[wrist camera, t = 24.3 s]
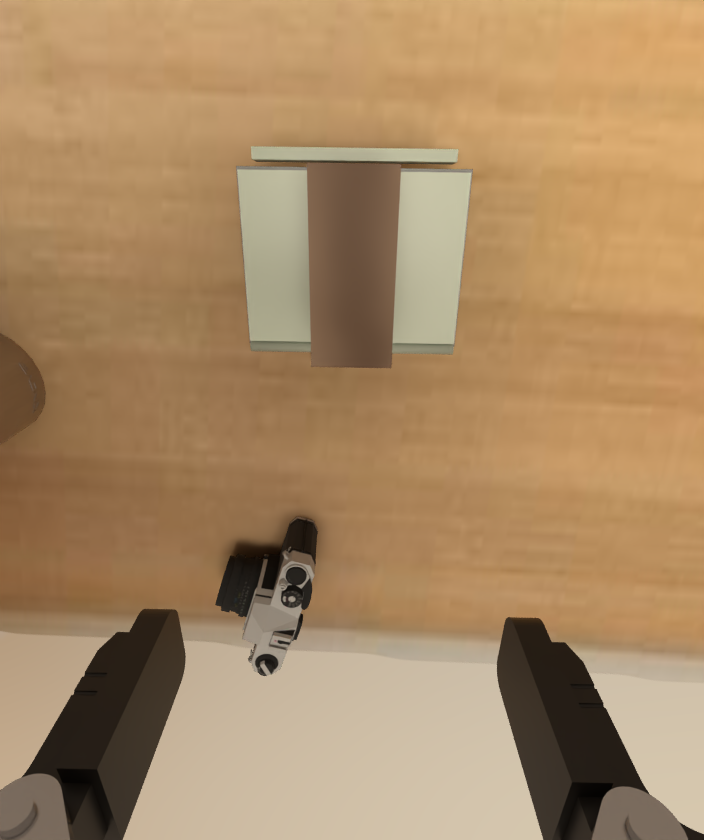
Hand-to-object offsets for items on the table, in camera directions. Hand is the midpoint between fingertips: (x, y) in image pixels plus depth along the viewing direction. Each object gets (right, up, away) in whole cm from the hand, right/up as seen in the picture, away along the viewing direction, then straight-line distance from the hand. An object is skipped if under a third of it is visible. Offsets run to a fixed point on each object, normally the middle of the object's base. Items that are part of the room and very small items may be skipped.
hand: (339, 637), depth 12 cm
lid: (0, +15, +17) cm, 23 cm away
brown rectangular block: (0, +15, +16) cm, 21 cm away
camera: (-8, -8, +35) cm, 37 cm away
